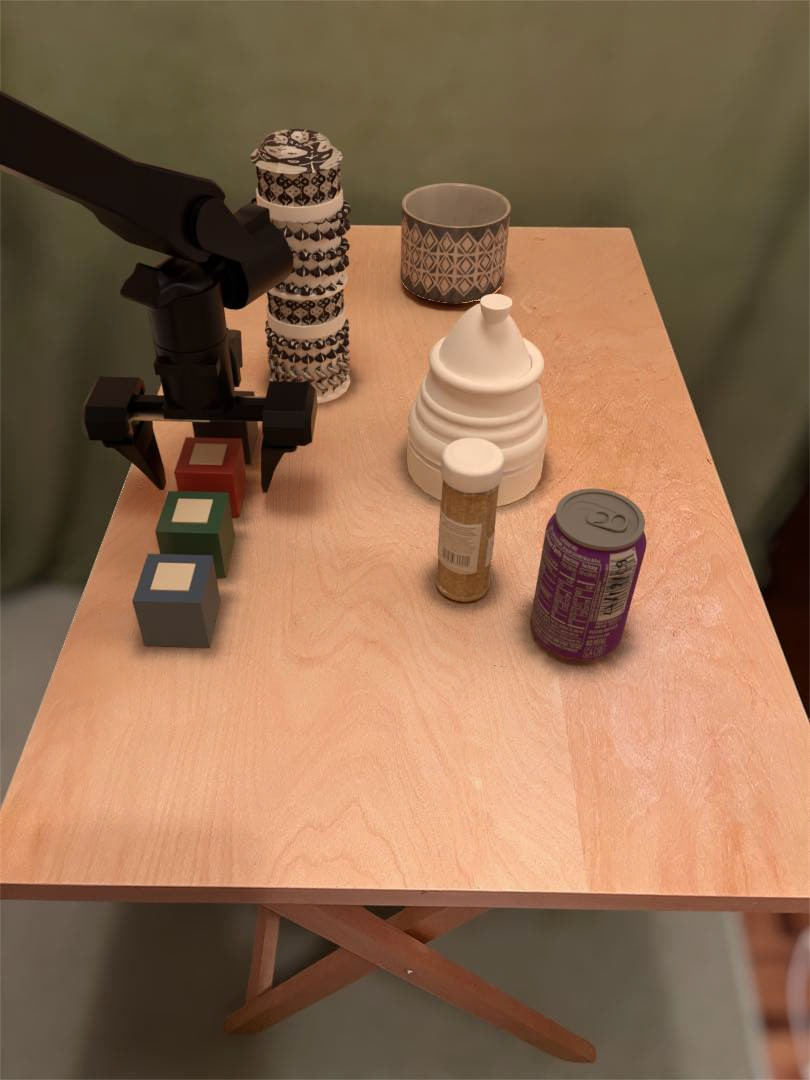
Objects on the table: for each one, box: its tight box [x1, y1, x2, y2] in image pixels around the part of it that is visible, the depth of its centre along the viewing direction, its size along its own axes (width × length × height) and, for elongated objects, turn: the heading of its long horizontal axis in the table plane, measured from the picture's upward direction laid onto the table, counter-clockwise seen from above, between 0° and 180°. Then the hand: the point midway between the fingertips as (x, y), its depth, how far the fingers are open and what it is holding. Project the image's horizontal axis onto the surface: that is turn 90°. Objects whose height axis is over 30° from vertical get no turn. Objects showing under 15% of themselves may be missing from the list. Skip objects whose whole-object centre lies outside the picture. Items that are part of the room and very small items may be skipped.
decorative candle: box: [249, 128, 352, 405], centre depth 88 cm, size 9×9×25 cm
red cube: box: [173, 436, 248, 518], centre depth 81 cm, size 5×5×5 cm
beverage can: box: [530, 488, 647, 661], centre depth 67 cm, size 7×7×12 cm
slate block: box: [132, 553, 221, 649], centre depth 70 cm, size 5×5×5 cm
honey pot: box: [406, 293, 549, 507], centre depth 81 cm, size 13×13×18 cm
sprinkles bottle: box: [435, 438, 504, 603], centre depth 70 cm, size 5×5×13 cm
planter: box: [400, 182, 512, 303], centre depth 109 cm, size 13×13×10 cm
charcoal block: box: [191, 390, 260, 466], centre depth 86 cm, size 5×5×5 cm
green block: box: [154, 490, 236, 579], centre depth 75 cm, size 5×5×5 cm
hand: (214, 488), depth 82 cm, fingers open, 9 cm apart
